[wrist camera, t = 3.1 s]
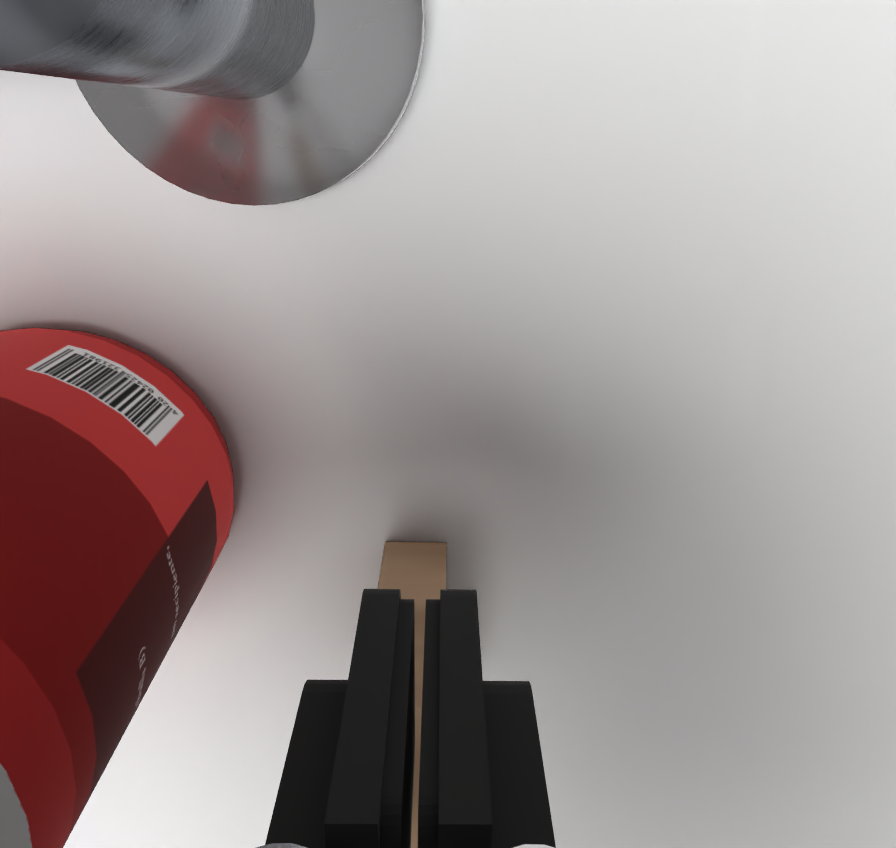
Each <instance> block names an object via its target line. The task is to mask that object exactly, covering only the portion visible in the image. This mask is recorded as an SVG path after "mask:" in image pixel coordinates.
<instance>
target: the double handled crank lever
mask: <svg viewBox="0 0 896 848" xmlns="http://www.w3.org/2000/svg"><path fill="white" fill-rule="evenodd" d="M314 26H315V10H314V1H313V0H0V70H6V71H14V72H22V73H30V74H38V75H46V76H54V77H62V78H70V79H78V80H86V81H94V82H102V83H110V84H118V85H126V86H134V87H141V88H149V89H157V90H165V91H173V92H181V93H189V94H197V95H205V96H213V97H221V98H229V99H240V100H243V99H254V98H259V97H263V96H265V95H268V94H271V93H272V92H274V91H276V90H278V89H280V88H281V87H282V86H284V85H285V84H286V83H288V82H289V81H290V80H291V79H292V78H293V77H294V76H295V74H296V73H297V72H298V70H299V69H300V68H301V66H302V64H303V62H304V61H305V59H306V57H307V54H308V52H309V49H310V47H311V43H312V39H313V34H314Z"/></svg>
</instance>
